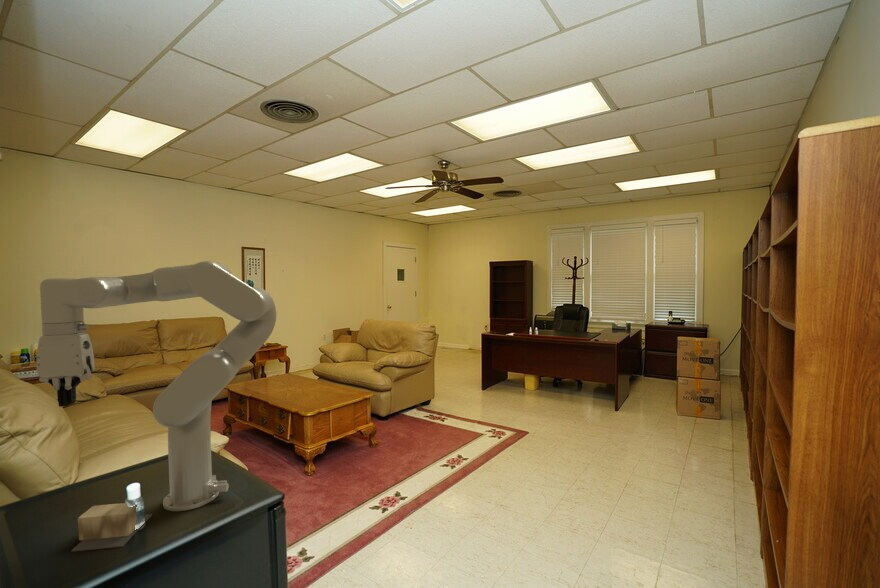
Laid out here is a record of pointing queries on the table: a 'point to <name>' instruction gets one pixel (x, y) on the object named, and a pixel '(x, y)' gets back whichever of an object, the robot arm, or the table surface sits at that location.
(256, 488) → the table surface
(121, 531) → the maple block
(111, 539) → the mat
